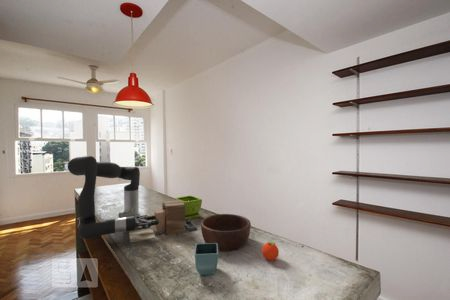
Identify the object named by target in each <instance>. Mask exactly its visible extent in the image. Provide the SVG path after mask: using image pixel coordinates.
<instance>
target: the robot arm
mask: <svg viewBox="0 0 450 300" xmlns="http://www.w3.org/2000/svg"><path fill="white" fill-rule="evenodd" d="M67 170H68V171H69V173H70V174H71V175H74V176H79V177H80V176H84V179H85V180H84V184H83V188H82V190H81V192H80V193H79V195H78V199H77V216H78V218H79V228H78V231H77V236H78V237H79V238H80V239H81V240H82V239H83V240H88V239H89V240H90V239H94V238H98V237H101V236H104V235H112V234H121V233H122V234H123V233H129V232H131V231H136V228H137V230H143V229H149V228H151V227H152V226H155V225H158V224H159V221H158V220H155V214H154V215H148V214H145V215H144V214H143V215H139V214H140V213H139V207H140V205H139V201H140V200H139V198H140V197H139V196H140V195H139V187H140V178H141V177H140V176H141V174H140V173H141V171H140V169H139V167H137V166H120V165H119V164H117V163H115V162H109V161H97V159H96V158H95V157H94V156H92V155H87V156H86V155H85V156H77V157H74V158H72V159H70V160H69V161H68V163H67ZM97 177H98V178H99V177H100V178H106V179H117V178H118V179H120V180H126V181H130V183H129V184H126V185H124V187H123V203H124V204H123V212H124V211H126V210H130V209H131V207H134V208H136V211H137V213H135V216H129V217H121V218H119V217H117V218H112V219H106V220H102V221H99V222H97V219H96V218H97V217H96V214H95V213H96V206H95V203H96V202H95V192H96V191H95V190H96V184H97V183H96V182H97ZM137 215H139V216H137Z"/></svg>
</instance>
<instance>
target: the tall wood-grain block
mask: <svg viewBox="0 0 450 300" xmlns="http://www.w3.org/2000/svg"><path fill="white" fill-rule="evenodd" d="M154 215H155V220H158V221H159V224H158V225H154V231H155V232H156V233H157V234H163V233H165V234H166V209H164V210H162V209H158V210H154ZM155 220H154V221H155Z"/></svg>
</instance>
